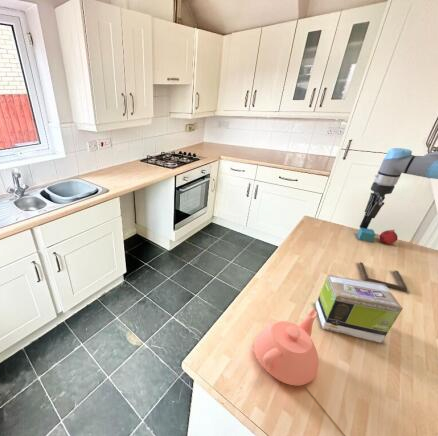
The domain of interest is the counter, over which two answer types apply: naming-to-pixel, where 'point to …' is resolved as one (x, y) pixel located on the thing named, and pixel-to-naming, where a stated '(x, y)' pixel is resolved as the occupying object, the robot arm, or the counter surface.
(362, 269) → the frame
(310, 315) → the teapot
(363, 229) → the teal block
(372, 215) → the robot arm
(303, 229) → the counter surface
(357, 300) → the tea box
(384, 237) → the onion
